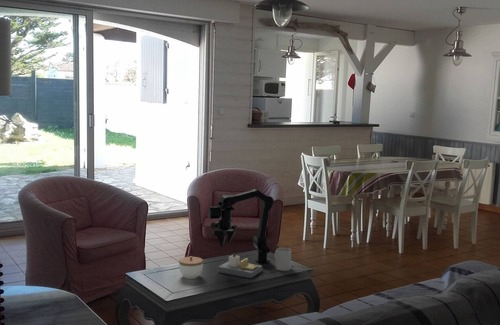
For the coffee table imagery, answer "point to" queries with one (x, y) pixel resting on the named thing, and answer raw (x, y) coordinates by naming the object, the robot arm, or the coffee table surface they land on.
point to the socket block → (239, 270)
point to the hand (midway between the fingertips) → (225, 244)
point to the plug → (234, 260)
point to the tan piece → (247, 265)
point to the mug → (283, 259)
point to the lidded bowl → (190, 267)
